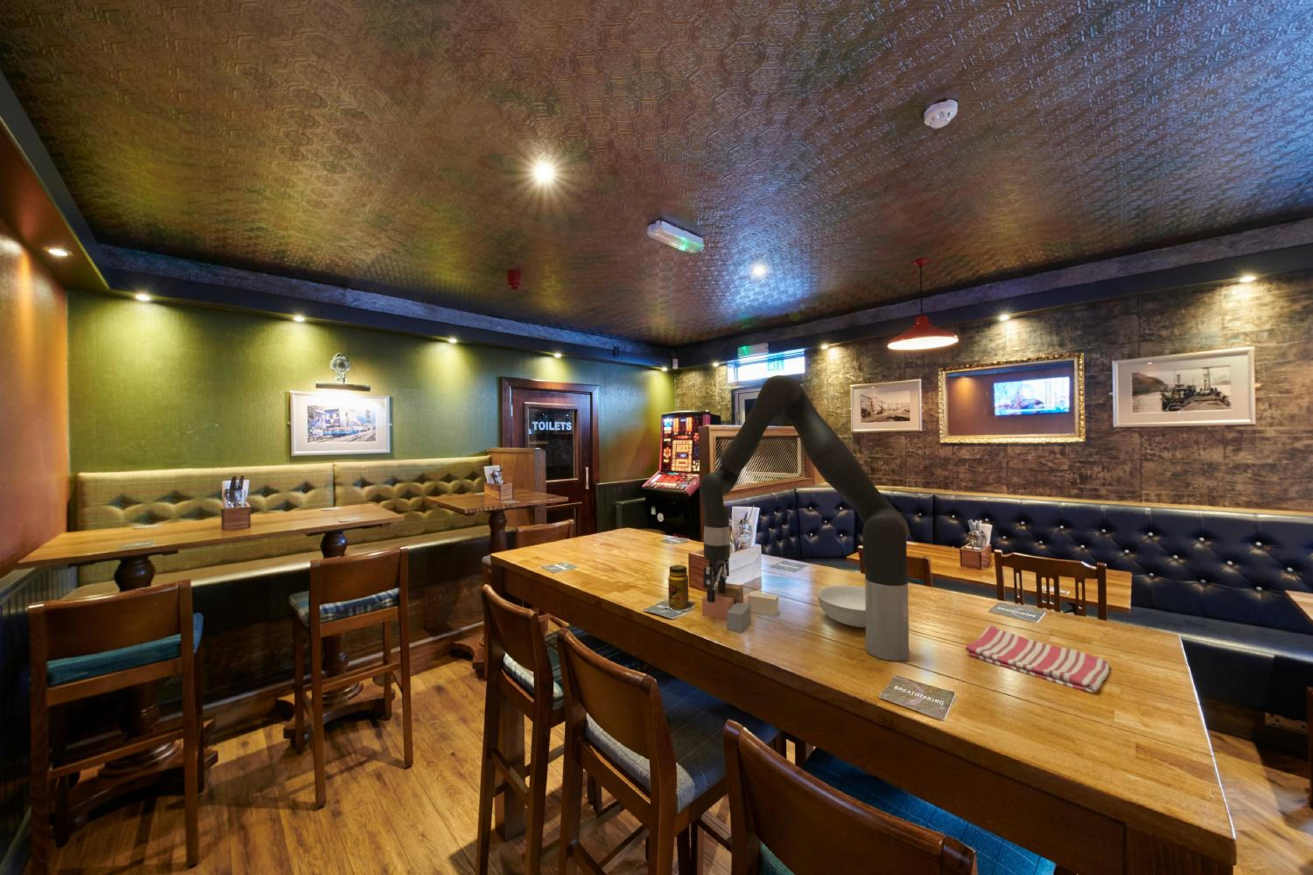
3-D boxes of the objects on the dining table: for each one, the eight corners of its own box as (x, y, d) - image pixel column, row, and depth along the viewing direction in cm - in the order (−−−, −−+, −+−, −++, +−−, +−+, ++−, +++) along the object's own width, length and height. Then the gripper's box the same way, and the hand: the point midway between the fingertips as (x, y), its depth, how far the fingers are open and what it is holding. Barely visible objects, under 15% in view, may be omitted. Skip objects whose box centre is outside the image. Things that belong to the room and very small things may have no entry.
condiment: (664, 609, 143) (663, 569, 143) (672, 599, 151) (672, 561, 151) (687, 611, 140) (687, 571, 140) (695, 602, 148) (694, 563, 148)
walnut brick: (743, 601, 149) (743, 585, 149) (739, 605, 145) (738, 589, 145) (718, 597, 152) (718, 581, 152) (714, 601, 149) (714, 585, 149)
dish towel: (986, 636, 123) (986, 622, 122) (1111, 670, 105) (1111, 654, 105) (963, 657, 111) (963, 642, 111) (1099, 699, 94) (1099, 681, 94)
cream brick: (778, 612, 139) (778, 595, 139) (775, 617, 136) (775, 599, 136) (751, 607, 143) (751, 591, 143) (747, 612, 140) (747, 595, 140)
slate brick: (736, 620, 134) (736, 602, 134) (750, 622, 132) (750, 604, 132) (726, 630, 127) (726, 612, 127) (741, 633, 125) (741, 614, 125)
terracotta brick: (733, 615, 138) (733, 598, 137) (728, 620, 134) (728, 602, 134) (707, 610, 141) (707, 593, 141) (702, 615, 138) (702, 598, 138)
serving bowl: (915, 637, 122) (915, 610, 121) (832, 637, 122) (832, 610, 122) (879, 607, 142) (878, 584, 142) (808, 607, 143) (808, 584, 143)
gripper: (720, 548, 129) (720, 607, 130) (737, 537, 142) (737, 591, 142) (694, 545, 133) (694, 603, 133) (713, 534, 146) (713, 587, 146)
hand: (716, 597), depth 138 cm, fingers open, 8 cm apart
